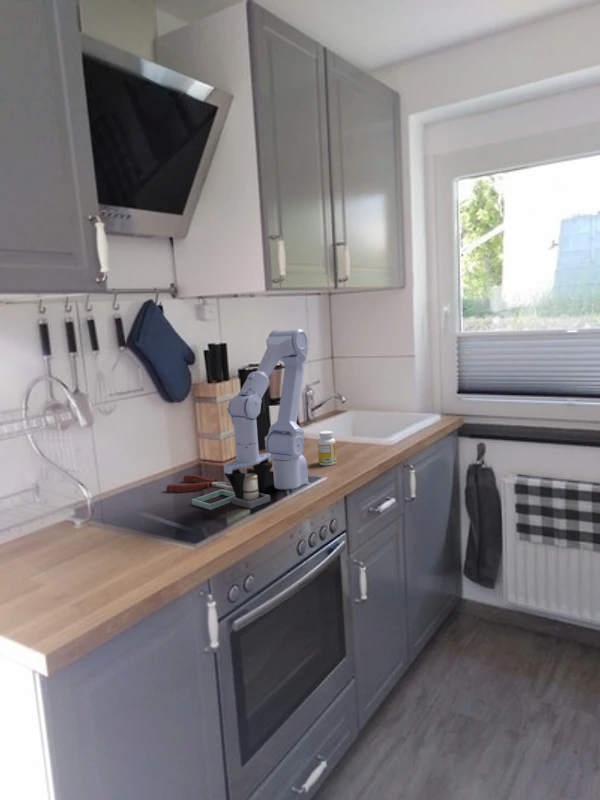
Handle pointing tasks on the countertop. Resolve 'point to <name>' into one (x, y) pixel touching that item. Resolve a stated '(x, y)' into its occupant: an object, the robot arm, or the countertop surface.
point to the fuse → (250, 487)
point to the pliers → (196, 484)
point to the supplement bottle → (326, 448)
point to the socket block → (262, 499)
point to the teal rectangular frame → (200, 500)
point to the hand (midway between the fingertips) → (250, 494)
